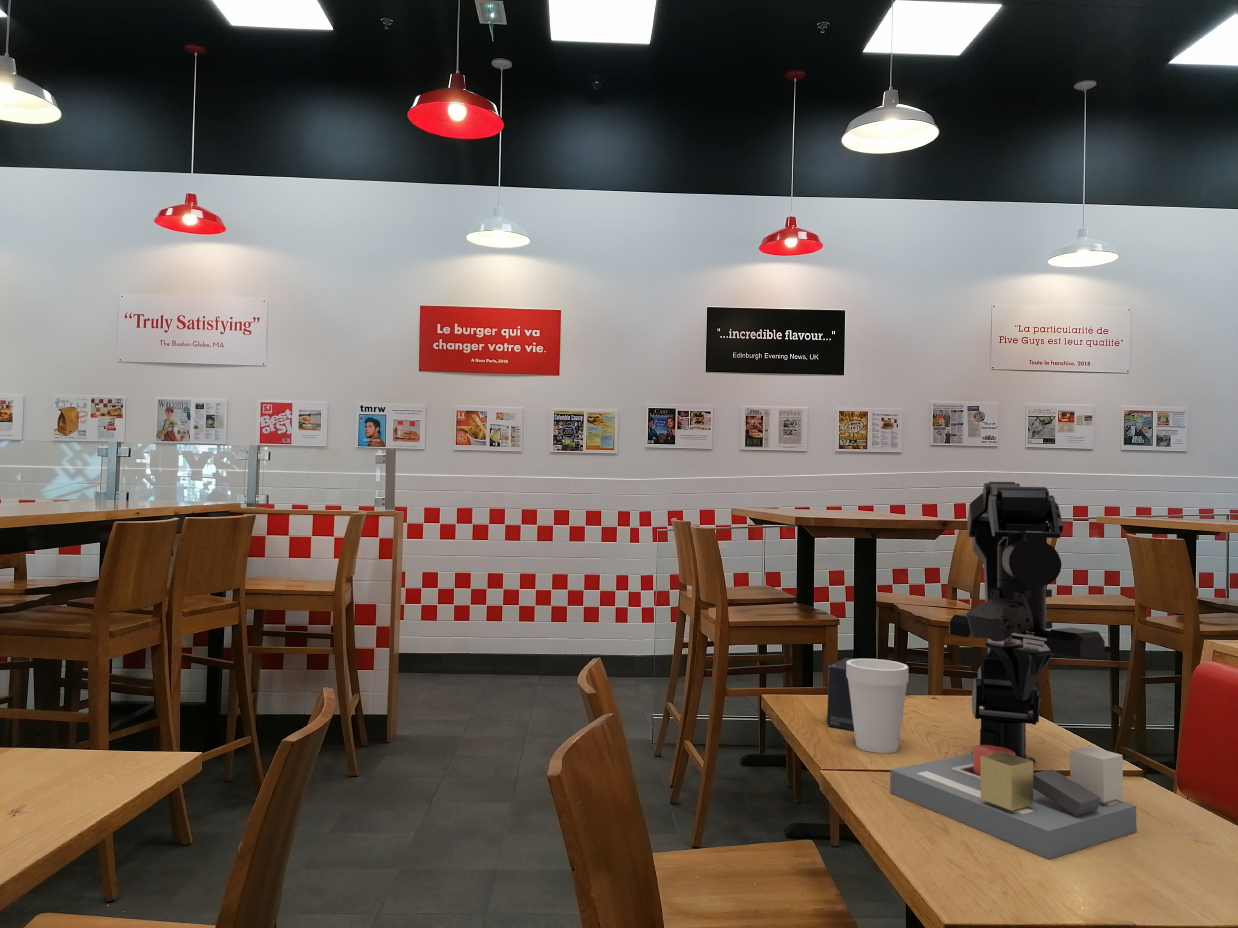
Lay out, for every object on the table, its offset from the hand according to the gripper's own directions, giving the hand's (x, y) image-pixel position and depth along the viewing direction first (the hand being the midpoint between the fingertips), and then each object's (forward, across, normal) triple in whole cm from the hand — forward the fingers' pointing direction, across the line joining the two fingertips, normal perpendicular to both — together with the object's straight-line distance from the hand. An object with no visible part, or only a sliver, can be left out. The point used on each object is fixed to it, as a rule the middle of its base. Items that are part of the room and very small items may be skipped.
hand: (1022, 699), depth 103 cm
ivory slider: (+10, +9, +1) cm, 13 cm away
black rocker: (+8, +9, -6) cm, 13 cm away
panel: (+13, +2, -6) cm, 14 cm away
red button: (+13, -2, -3) cm, 13 cm away
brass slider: (+10, +6, -11) cm, 16 cm away
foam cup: (+13, -25, 0) cm, 28 cm away
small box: (+13, -37, +7) cm, 40 cm away
